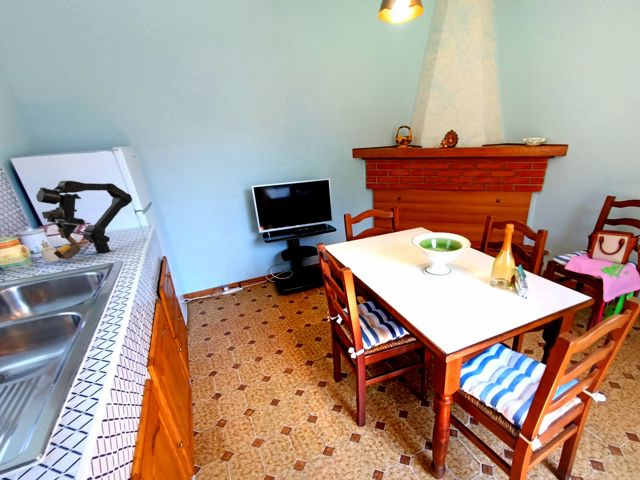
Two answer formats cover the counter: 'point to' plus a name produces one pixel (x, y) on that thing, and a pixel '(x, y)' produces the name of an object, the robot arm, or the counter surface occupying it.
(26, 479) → the counter surface
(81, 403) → the counter surface
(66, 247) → the block
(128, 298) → the counter surface
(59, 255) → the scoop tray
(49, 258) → the eye dropper bottle
